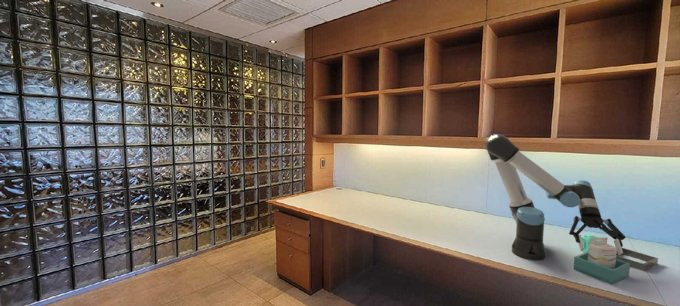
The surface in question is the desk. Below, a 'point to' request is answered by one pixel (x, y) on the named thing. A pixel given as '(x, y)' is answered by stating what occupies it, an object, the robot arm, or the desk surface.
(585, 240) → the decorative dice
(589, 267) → the teal bin
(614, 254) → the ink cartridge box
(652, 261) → the socket collar
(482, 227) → the desk surface
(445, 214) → the desk surface
